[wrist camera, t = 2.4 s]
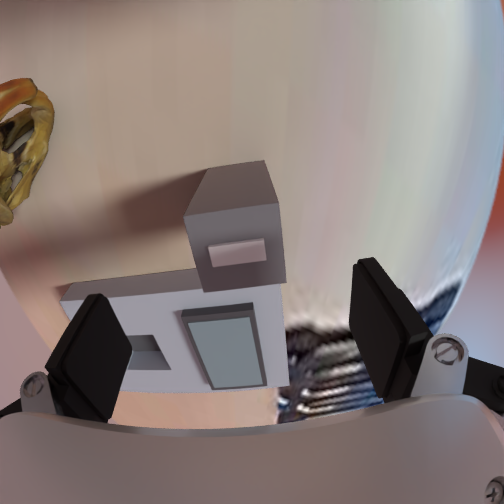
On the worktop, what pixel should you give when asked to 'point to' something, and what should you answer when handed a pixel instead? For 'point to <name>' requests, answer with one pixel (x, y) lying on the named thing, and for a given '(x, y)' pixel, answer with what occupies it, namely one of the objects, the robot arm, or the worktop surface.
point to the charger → (236, 228)
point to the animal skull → (28, 153)
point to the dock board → (193, 332)
